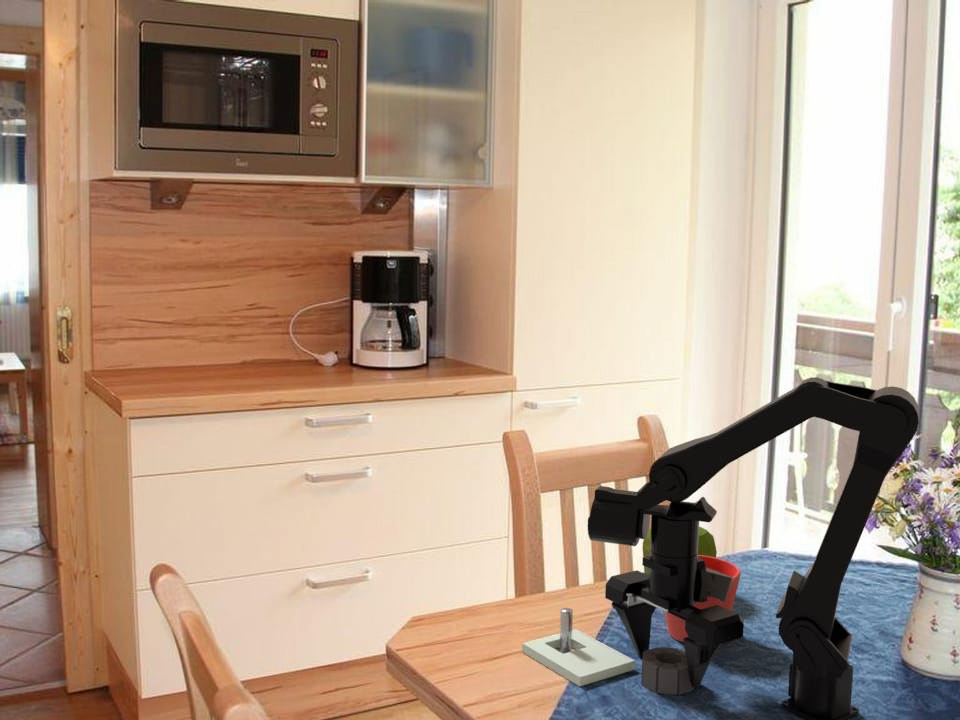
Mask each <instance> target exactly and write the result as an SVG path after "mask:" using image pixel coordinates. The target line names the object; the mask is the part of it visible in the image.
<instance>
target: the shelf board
mask: <svg viewBox="0 0 960 720" xmlns="http://www.w3.org/2000/svg"><path fill="white" fill-rule="evenodd" d="M521 647H522V648H521V652H522V653H523V654H525V655H527V656H528V657H530V658H532V659H533V660H535V661H536V662H538V663H539V664H541V665H543V666H545V667H547V668H548V669H550V670H551V671H553V672H555V673H557V674H558V675H560V676H561V677H563V678H565V679H567V680H568V681H570V682H572V683H573V684H575V685H576V686H578V687H583V686H586V685H589V684H593V683H595V682H596V683H597V682H599V681H601V680H606V679H608V678H612V677H614V676H615V677H616V676H618V675H622V674H624V673H628V672H631V671H635V668H636V660H635V659H632V658H631V657H629V656H627V655H625V654H623V653H621V652H620V651H617V650H616V649H615V648H612V647H610V646H609V645H606V644H604V643H602V642H601V641H598V640H597V639H595V638H593V637H592V636H590V635H588V634H586V633H584V632H582V631H580V630H578V629H577V628H574V629H572V649H574V650H572V651H571V652H568V653H564V654H562V653H561V652H559V650H558V649H559V647H560V632H559V633H556V634H553V635H548V636H544V637H541V638H536V639H533V640H529V641H526V642H522V645H521Z"/></svg>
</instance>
